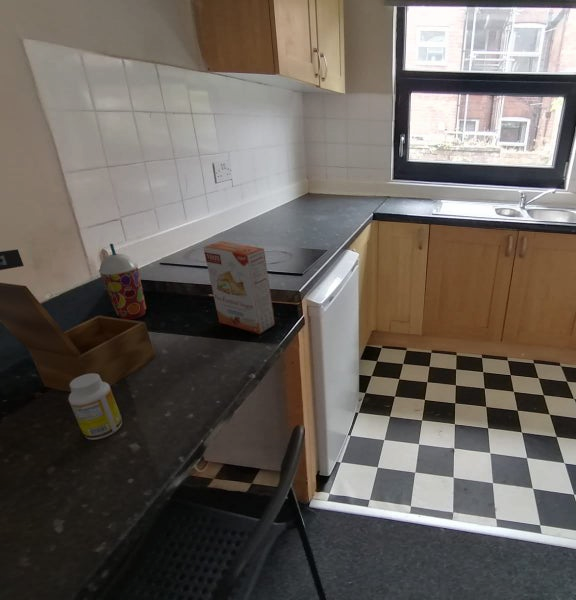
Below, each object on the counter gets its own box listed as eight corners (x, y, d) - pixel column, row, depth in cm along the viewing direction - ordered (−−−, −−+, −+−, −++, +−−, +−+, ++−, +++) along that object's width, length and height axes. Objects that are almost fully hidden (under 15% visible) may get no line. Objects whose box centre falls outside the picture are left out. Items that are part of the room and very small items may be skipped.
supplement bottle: (110, 415, 72) (92, 367, 68) (130, 424, 70) (113, 374, 66) (76, 435, 67) (54, 385, 63) (97, 445, 65) (76, 394, 61)
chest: (110, 349, 92) (98, 315, 89) (155, 357, 90) (145, 321, 86) (44, 386, 80) (27, 348, 76) (95, 396, 77) (80, 357, 73)
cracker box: (217, 324, 104) (201, 246, 95) (235, 315, 109) (221, 239, 100) (259, 335, 98) (245, 253, 90) (276, 325, 103) (264, 246, 95)
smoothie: (124, 309, 112) (102, 239, 104) (156, 308, 113) (136, 238, 105) (108, 323, 104) (83, 249, 96) (142, 321, 105) (120, 248, 97)
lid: (-32, 278, 66) (-37, 281, 66) (26, 285, 63) (21, 288, 63) (29, 344, 76) (24, 348, 75) (81, 353, 73) (77, 357, 73)
